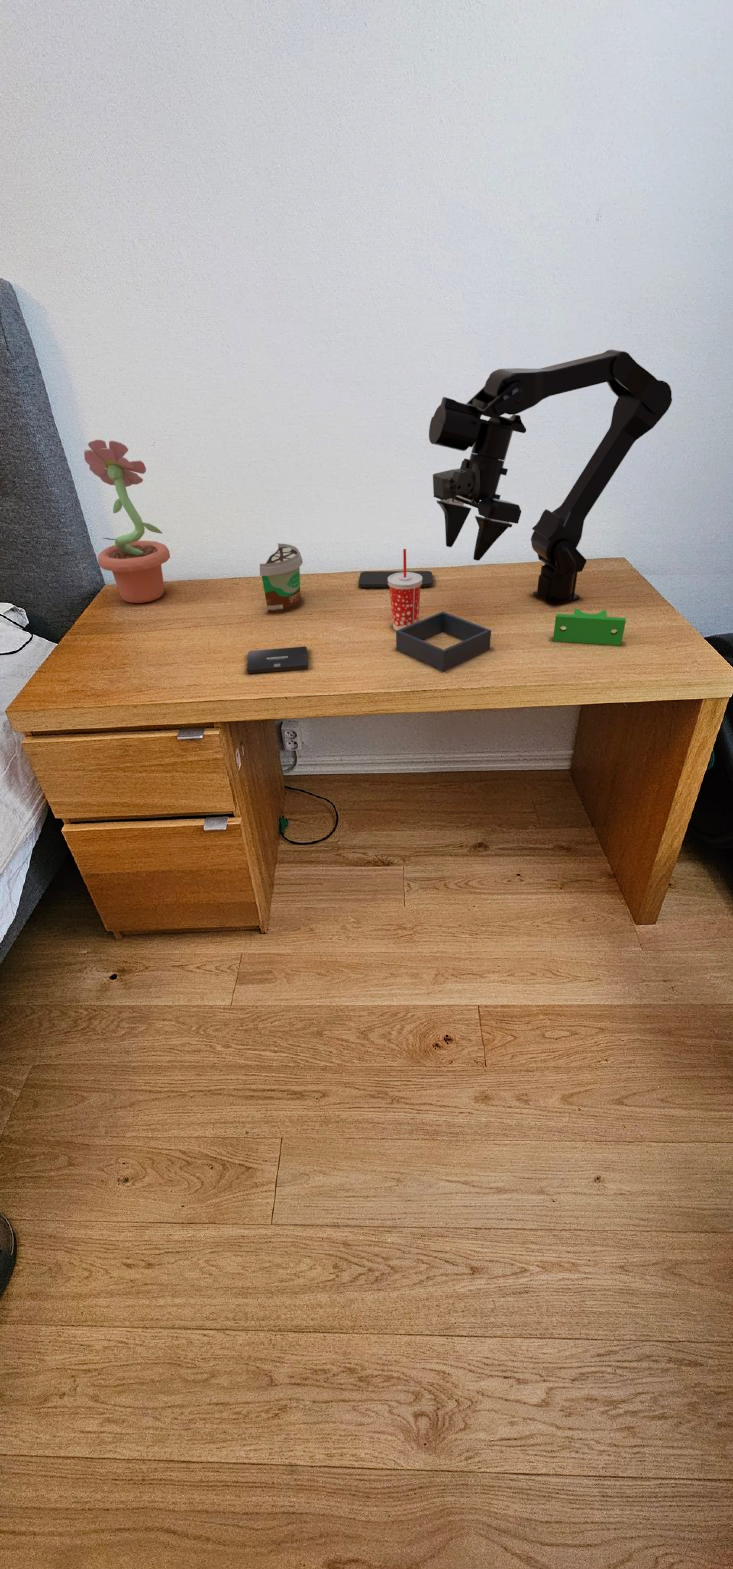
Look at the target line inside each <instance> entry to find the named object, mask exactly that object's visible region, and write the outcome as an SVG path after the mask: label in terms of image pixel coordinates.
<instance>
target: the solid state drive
mask: <svg viewBox="0 0 733 1569" xmlns="http://www.w3.org/2000/svg"><path fill="white" fill-rule="evenodd" d="M308 661H309V660H308V647H307V646H305V645H304V646H293V647H280V648H270V649H260V650H259V649H257V650H249V651H248V653H247V664H246V672H247V674H255V673H256V674H259V673H270V672H281V671H282V672H283V671H294V670H295V671H296V670H305V669H308V668H309V663H308Z"/></svg>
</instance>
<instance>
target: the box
mask: <svg viewBox="0 0 733 1569" xmlns="http://www.w3.org/2000/svg"><path fill="white" fill-rule="evenodd" d="M442 632H443V633H445V634H447V635H449V636H452V637H454V638H456V639H459V640H462V641H459V642H458V643H456V644H454V645H450V646H449V647H446V648H444V649H443V648H441V647H438V646H437V645H434V644H431V643H429V642H428V641H425V640H426V639H430V638H431V637H433V636H435V635H438V634H440V633H442ZM395 633H396V634H395V642H396V643H395V644H396V646H395V647H396V651H398V652H400V653H402V654H404V655H407V656H409V657H411V658H413V659H415V660H418V661H420V662H422V663H424V664H426V665H428V666H431V667H433V668H435V669H437V670H439V671H441V672H446V671H447V670H450V669H452V668H454V667H456V666H458V665H460V664H462V663H464V662H466V661H468V660H471V659H473V658H474V657H476V656H479V655H481V654H483V653H485V652H487V651H489V650H491V638H492V630H491V629H489V628H487V627H484V626H482V625H478V624H476V623H474V622H471V621H469V620H466V619H464V618H461V617H458V616H456V615H453V614H451V613H448V612H446V611H440V612H438V613H436V614H432V615H431V616H428V617H426V618H424V619H421V620H418V622H416V623H414V624H412V625H409V626H407V627H404V628H402V629H400V630H395Z"/></svg>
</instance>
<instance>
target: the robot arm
mask: <svg viewBox="0 0 733 1569" xmlns="http://www.w3.org/2000/svg"><path fill="white" fill-rule="evenodd" d="M604 383H607V385H608V387H609V389H610V391H611V392H612V393H613V394H614V395H615V396H616V397H617V399H616V402H615V403H614V405H613V409H612V415H611V421H610V426H609V428H608V430H607V432H606V433H605V435H604V436H603V438H602V440H601V441H600V443H599V445H598V446H597V448H596V449H595V450H594V452H593V454H592V456H591V457H590V458H589V460H588V462H587V464H586V465H585V466H584V468H583V470H582V471H581V473H580V474H579V477H577V479H576V481H575V483H574V484H573V485H572V487H571V489H570V490H569V492H568V494H567V496H566V497H565V499H564V500H563V502H562V503H561V504H560V506H558V507H557V508H555V509H554V510H553V511H550V510H549V509H548V508H546V509H544V510H543V512H542V513H541V515H540V518H539V520H538V521H537V522H536V524H535V525H534V526H532V529H531V530H533V532H532V535H531V536H530V542H531V548H532V549H533V551H534V552H535V553H536V554H537V558H538V560H539V561H540V562H543V564H544V565H541V567H540V574H539V575H538V583H537V588H536V589H537V590H536V591H534V592H532V596H533V597H535V598H537V599H539V600H542V601H543V602H545V603H547V604H549V605H551V606H558V605H562V604H567V603H569V602H573V601H577V600H580V598H581V595H579V594H577V593H575V592H576V587H577V586H576V585H577V580H578V579H577V578H578V573H580V572H583V570H584V568H585V566H586V564H587V559H586V558H585V556H584V555H583V554H582V553H581V552H580V551H579V550H578V549H577V548H578V546H579V543H580V541H581V540H582V536H583V529H584V524H585V520H586V518H587V517H588V515H589V513H590V512H591V510H592V508H593V507H594V505H595V504H596V503H597V501H598V499H599V498H600V496H601V494H602V493H603V492H604V490H605V488H607V486H608V483H609V482H610V481H611V479H612V478H613V476H614V474H616V471H617V470H618V469H619V467H620V465H622V464H621V463H622V462H623V461H624V459H625V458H626V456H627V454H628V453H629V452H630V450H631V448H632V447H633V446H634V444H635V443H636V442H637V440H638V439H640V438H641V437H643V436H644V435H645V434H647V433H648V432H649V431H651V430H653V429H654V427H656V425H657V424H658V423H659V421H661V419H662V418H663V417H664V416H665V414H666V413H667V412H668V410H669V409H670V407H671V405H672V403H673V397H672V396H673V394H672V389H671V385H670V384H669V383H668V382H666V381H665V380H661V379H657V378H656V377H655V375H653V374H652V373H651V372H649V371H648V370H647V369H645V368H644V367H643V366H642V365H640V364H639V363H638V362H637V360H635V359H634V357H632V356H631V355H630V353H629V352H627V351H623V350H619V349H618V350H617V349H607V350H605V351H604V352H602V353H598V354H594V355H590V356H585V357H582V358H577V359H573V360H570V361H564V362H561V363H556V364H553V365H549V366H544V367H540V368H519V367H515V368H513V367H512V368H497V369H495V370H494V371H492V372H491V373H490V374H489V376H488V377H487V380H486V381H485V384H484V386H483V387H482V388H480V390H478V391H477V393H476V394H474V396H473V397H471V398H470V399H469V400H468V401H467V402H466V403H464V402H460V401H457V400H454V399H453V398H450V397H447V396H443V397H442V399H441V402H440V405H438V406H437V407H436V410H435V411H434V413H433V416H431V420H430V423H429V428H428V439H429V442H430V444H432V445H435V446H440V447H443V448H448V449H453V450H457V451H461V452H465V451H467V450H468V449H469V448H471V452H470V456H469V458H464V459H463V460H462V461H461V465H460V467H459V468H455V469H454V468H453V469H449V470H445V471H440V472H435V473H433V474H432V488H433V489H432V490H433V491H432V492H433V498H436V499H437V500H436V503H437V504H438V505H439V507H440V508H441V510H442V512H443V514H444V527H445V530H444V532H445V533H444V534H445V546H446V547H448V548H452V547H453V546H454V544H455V542H456V541H457V540H458V537H459V534H460V533H461V530H462V529H463V527H464V525H465V523H466V520H467V518H468V517H469V514H470V513H471V511H472V507H473V508H475V509H477V512H478V515H479V516H478V515H475V516H474V518H475V521H476V523H477V525H478V531H477V536H476V540H475V546H474V549H473V550H474V551H473V558H472V559H473V560H474V561H480V560H481V559H482V558H483V557H484V555H486V553H487V552H488V551H489V550H490V549H491V547H492V546H493V545H494V544H495V542H496V541H497V540H498V539H500V537H501V536H502V535H503V534H504V532H506V531H507V529H509V528H512V527H513V524H517V525H518V524H519V521H520V518H521V515H522V510H521V507H520V505H519V504H517V503H514V502H512V501H508V500H505V499H501V496H502V495H501V494H498V493H497V491H498V487H499V483H500V480H501V477H502V476H507V473H508V470H509V469H508V468H506V467H504V465H505V461H506V458H507V454H508V451H509V447H510V444H511V440H512V436H513V432H516V433H520V434H525V433H526V432H527V428H526V426H525V425H524V423H523V421H522V417H521V415H519V414H520V413H522V412H524V411H526V410H529V409H531V408H533V407H535V406H537V405H538V404H539V403H541V401H543V400H545V399H547V398H549V397H552V396H556V395H560V394H563V393H564V394H565V393H568V392H572V391H577V390H580V389H584V388H588V387H593V386H597V385H600V384H604ZM502 415H509V416H510V417H506V416H502ZM482 416H484V417H487V418H489V419H488V420H487V419H484V418H481V417H482ZM501 475H502V476H501ZM466 505H468V506H466ZM469 506H470V507H469Z"/></svg>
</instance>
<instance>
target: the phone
mask: <svg viewBox="0 0 733 1569" xmlns="http://www.w3.org/2000/svg"><path fill="white" fill-rule="evenodd" d="M400 572H404V570H381V571H379V570H376V571H375V570H374V571H373V570H372V571H369V570H368V571H361V572H360V574H359V578H358V587H359V588H363V589H365V588H367V589H369V588H370V589H371V588H390V587H389V585H388V577H389V576H390V575H392V574H395V573H400ZM406 572H412V573H417V574H420V575H421V576H422V584H421V588H429V587H432V586H433V572H432V571H430V570H406Z"/></svg>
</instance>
